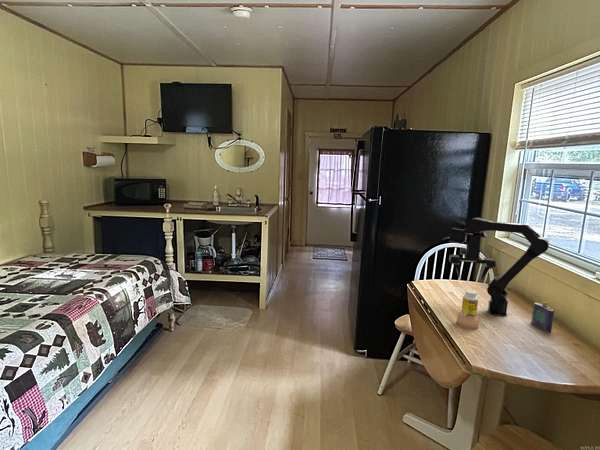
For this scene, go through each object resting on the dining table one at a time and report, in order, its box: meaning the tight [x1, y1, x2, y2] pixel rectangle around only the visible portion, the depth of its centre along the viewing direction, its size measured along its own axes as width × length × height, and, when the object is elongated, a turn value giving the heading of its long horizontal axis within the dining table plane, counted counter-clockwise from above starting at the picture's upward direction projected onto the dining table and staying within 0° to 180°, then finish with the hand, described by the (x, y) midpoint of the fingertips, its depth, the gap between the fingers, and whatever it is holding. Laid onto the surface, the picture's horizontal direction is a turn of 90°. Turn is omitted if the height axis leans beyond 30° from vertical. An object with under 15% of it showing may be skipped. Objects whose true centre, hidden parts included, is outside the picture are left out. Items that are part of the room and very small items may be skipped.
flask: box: [530, 301, 555, 333], centre depth 145 cm, size 9×3×11 cm, turn 8°
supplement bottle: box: [460, 289, 479, 318], centre depth 144 cm, size 6×6×10 cm
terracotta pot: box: [456, 311, 480, 331], centre depth 146 cm, size 8×8×4 cm
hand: (469, 278), depth 165 cm, fingers open, 9 cm apart
